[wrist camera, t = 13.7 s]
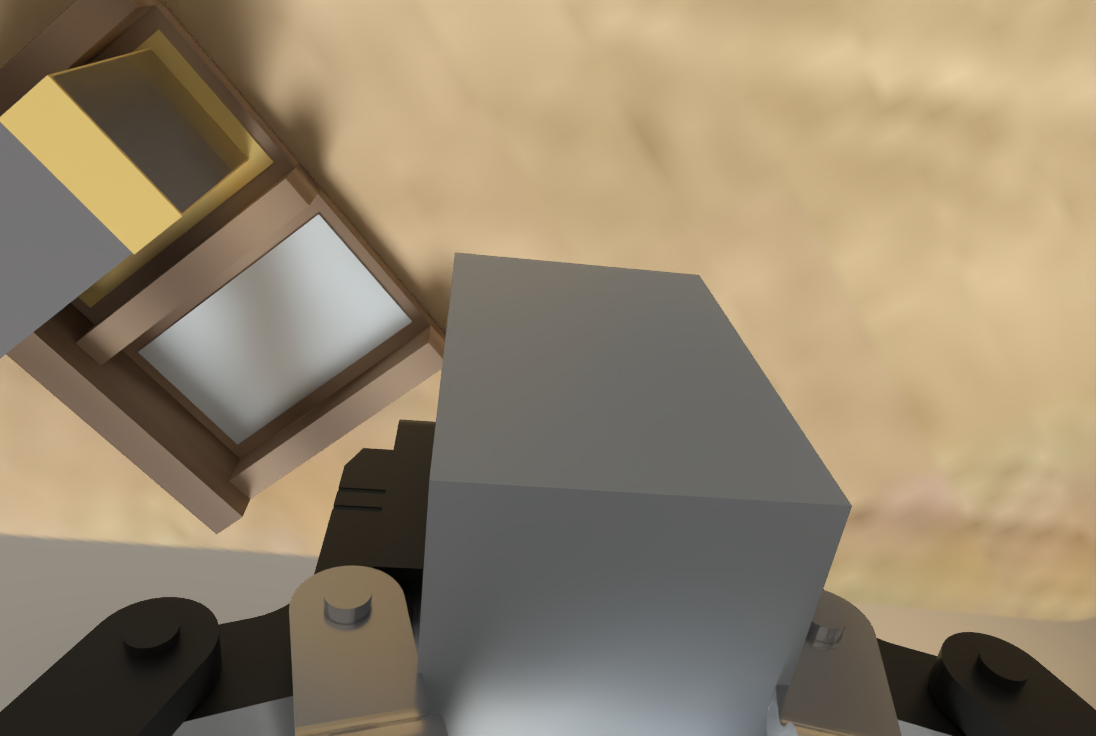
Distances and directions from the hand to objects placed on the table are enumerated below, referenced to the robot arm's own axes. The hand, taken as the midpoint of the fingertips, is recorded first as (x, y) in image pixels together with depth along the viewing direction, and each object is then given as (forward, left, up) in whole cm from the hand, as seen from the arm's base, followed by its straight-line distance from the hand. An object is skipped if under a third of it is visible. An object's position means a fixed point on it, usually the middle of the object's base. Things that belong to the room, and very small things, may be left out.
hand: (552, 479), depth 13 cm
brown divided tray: (+10, -5, -15) cm, 19 cm away
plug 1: (+9, -8, -14) cm, 19 cm away
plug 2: (0, 0, -1) cm, 1 cm away
